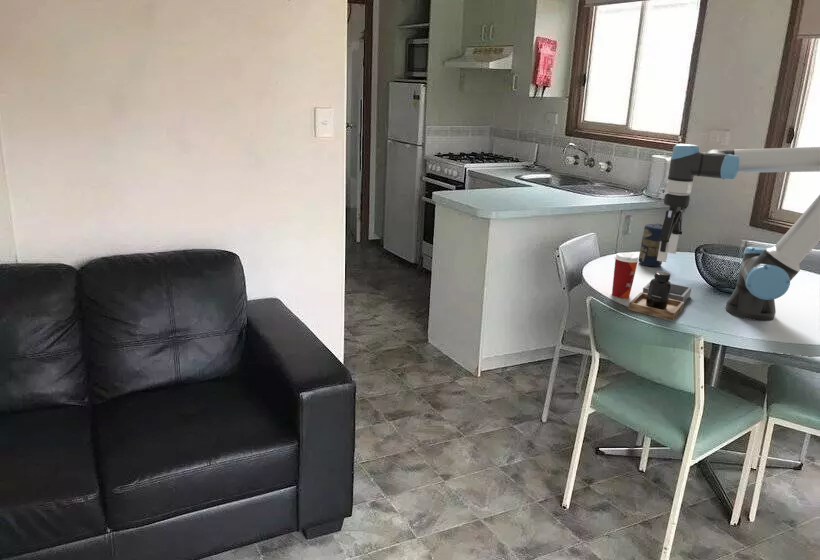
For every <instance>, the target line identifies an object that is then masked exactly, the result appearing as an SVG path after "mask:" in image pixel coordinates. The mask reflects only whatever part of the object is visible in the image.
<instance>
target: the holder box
mask: <svg viewBox="0 0 820 560" xmlns="http://www.w3.org/2000/svg"><path fill="white" fill-rule="evenodd" d="M670 283H671V290H670V295H669V299H673V300H678V301H682V302H684V304H685V303H686V302H687V301H688V299H690V297H691V293H692V287H691V286H685V285H681V284H677V283H672V282H670ZM649 285H650V282H648V283H647V284H646V285H644V287H643V288H642V293H647V294H648V290H649Z"/></svg>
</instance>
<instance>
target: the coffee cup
mask: <svg viewBox="0 0 820 560" xmlns="http://www.w3.org/2000/svg"><path fill="white" fill-rule="evenodd" d="M614 259H615V260H614V268H613V280H612V291H611V295H612V296H614V298H620V299H628V298H630V295H631V291H632V287H633V283H634V279H635V274H636V271H637V266H638V263H639V255H636V254H635V253H630V252H617V253H616V255H615V256H614Z"/></svg>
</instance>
